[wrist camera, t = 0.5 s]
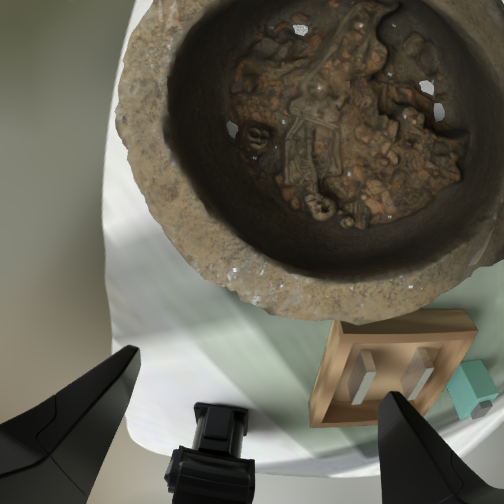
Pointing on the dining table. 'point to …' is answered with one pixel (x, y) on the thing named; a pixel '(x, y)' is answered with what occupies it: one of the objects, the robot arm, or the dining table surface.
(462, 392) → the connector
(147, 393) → the dining table surface
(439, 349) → the walled box
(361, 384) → the socket
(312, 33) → the stone bowl
